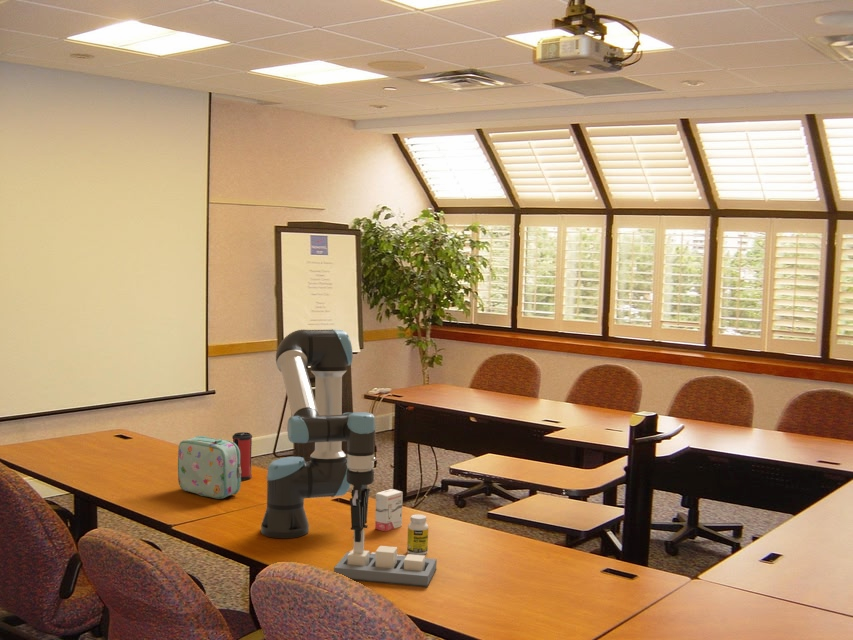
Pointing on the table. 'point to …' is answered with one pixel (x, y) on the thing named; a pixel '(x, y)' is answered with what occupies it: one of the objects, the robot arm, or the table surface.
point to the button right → (414, 562)
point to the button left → (358, 558)
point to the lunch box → (209, 467)
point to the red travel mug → (244, 453)
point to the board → (387, 572)
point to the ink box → (388, 510)
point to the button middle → (386, 557)
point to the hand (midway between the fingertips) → (358, 551)
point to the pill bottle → (417, 535)
